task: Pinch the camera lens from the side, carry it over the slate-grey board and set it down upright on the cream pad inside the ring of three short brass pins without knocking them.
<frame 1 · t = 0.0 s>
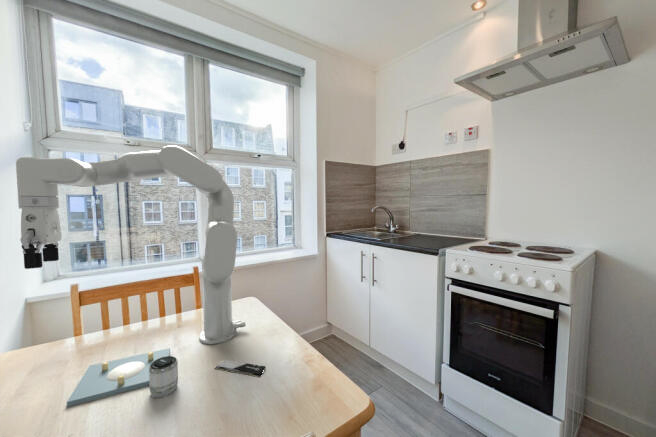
hand: (42, 264, 74), 31 cm above the table, tool pointing down, fingers open, 9 cm apart
camera lens: (164, 390, 68), on the table
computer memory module: (240, 370, 77), on the table
pin board: (126, 374, 74), on the table
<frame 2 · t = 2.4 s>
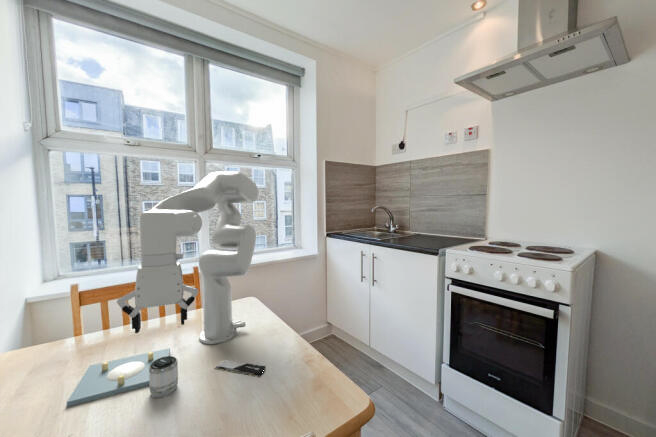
hand: (161, 326, 67), 17 cm above the table, tool pointing down, fingers open, 9 cm apart
nothing on the table moved.
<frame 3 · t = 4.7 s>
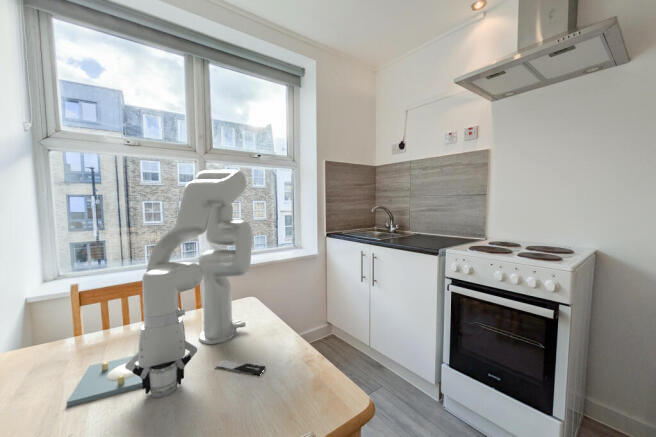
hand: (164, 385, 68), 1 cm above the table, tool pointing down, fingers closed on camera lens, 6 cm apart
camera lens: (164, 390, 68), on the table, touching gripper
everything else where it was.
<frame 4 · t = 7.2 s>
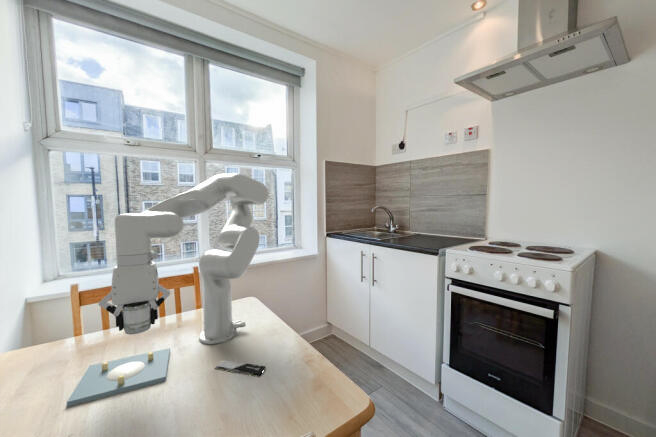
hand: (137, 324, 71), 15 cm above the table, tool pointing down, fingers closed on camera lens, 6 cm apart
camera lens: (138, 330, 71), point 14 cm above the table, touching gripper
everything else where it was.
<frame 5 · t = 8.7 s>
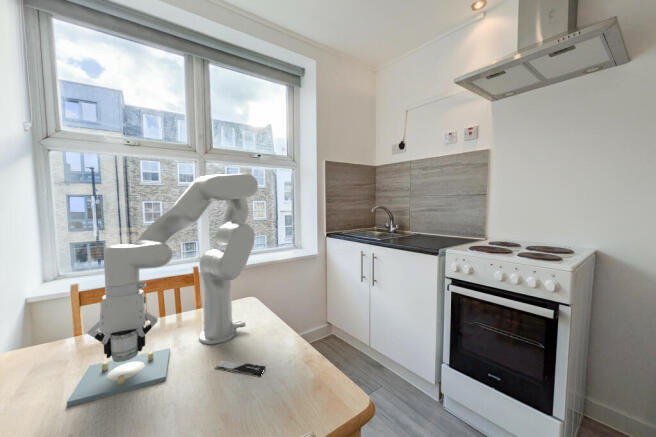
hand: (125, 351, 74), 7 cm above the table, tool pointing down, fingers closed on camera lens, 6 cm apart
camera lens: (125, 356, 74), point 5 cm above the table, touching gripper
everything else where it was.
when the fingers open (4 cm above the table, at t = 9.8 s): camera lens drops 1 cm, resting on pin board.
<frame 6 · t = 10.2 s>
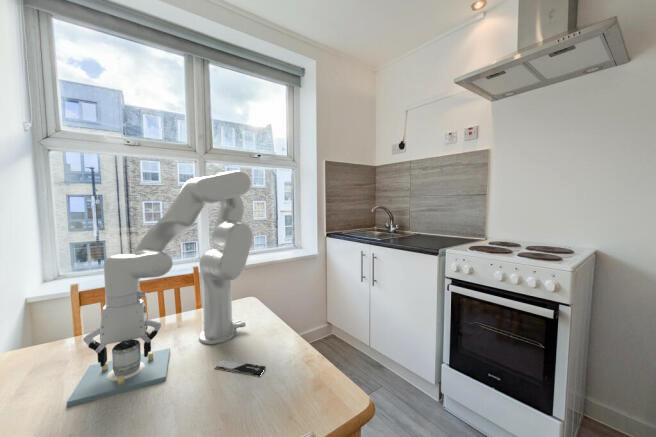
hand: (125, 359, 74), 5 cm above the table, tool pointing down, fingers open, 9 cm apart
camera lens: (127, 370, 74), point 1 cm above the table, touching pin board
everything else where it was.
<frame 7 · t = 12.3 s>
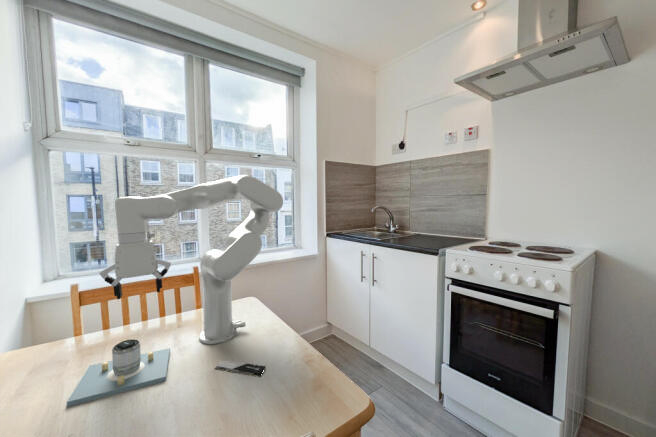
hand: (139, 294, 80), 21 cm above the table, tool pointing down, fingers open, 9 cm apart
nothing on the table moved.
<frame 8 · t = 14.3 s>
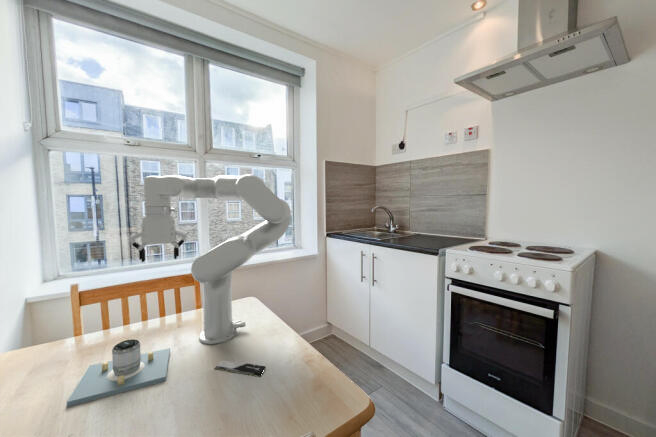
hand: (159, 259, 93), 28 cm above the table, tool pointing down, fingers open, 9 cm apart
nothing on the table moved.
at the end: camera lens 0.2 cm off-centre on the pin board, point 1.1 cm above the pin board's base; camera lens tilted 0°; the gripper is holding nothing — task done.
